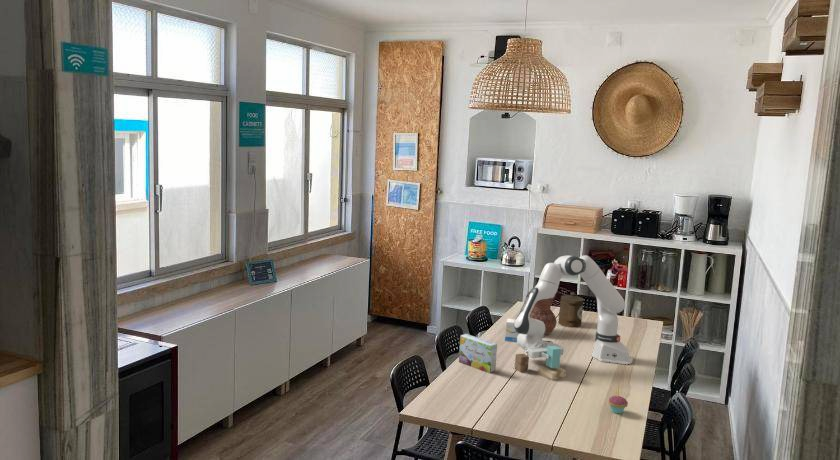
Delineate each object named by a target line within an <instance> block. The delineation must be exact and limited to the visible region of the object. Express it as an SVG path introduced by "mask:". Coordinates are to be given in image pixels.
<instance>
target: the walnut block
mask: <svg viewBox="0 0 840 460" xmlns="http://www.w3.org/2000/svg"><path fill="white" fill-rule="evenodd" d="M514 359H515V360H514V370H516V371H517V372H519V373H526V372H528V371H529V362H530V361H529V360H530V356H528V355H527V354H526V353H518V354H517V353H516V354H515V358H514Z"/></svg>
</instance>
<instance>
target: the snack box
mask: <svg viewBox="0 0 840 460" xmlns="http://www.w3.org/2000/svg"><path fill="white" fill-rule="evenodd" d="M459 339H460V340H459V351H458V352H459V355H458V362H459V363H461V364H463V365H467V366H470V367H472V368H475V369H477V370H479V371H480V370H481V371H483V372H485V373H488V374H492V373H494V372H495V371H496V368H497V367H496V365H497V355H498V354H497V353H498V343H495V342H492V341H489V340H486V339H483V338H480V337H477V336H474V335H471V334H469V333H465V334H464V333H463V334H461V335H460V337H459Z"/></svg>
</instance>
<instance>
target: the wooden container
mask: <svg viewBox="0 0 840 460" xmlns="http://www.w3.org/2000/svg"><path fill="white" fill-rule="evenodd" d="M569 294H570V295H569ZM569 294H564V295H561V297H560V305H559V311H558V324H559V325H560V326H562V327H566V328H580V327H581V326H582V318H583V306H584V298H583V297H581V296H578V295H576V293H575V292H574V291H571V292H570V293H569Z"/></svg>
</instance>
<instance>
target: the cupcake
mask: <svg viewBox="0 0 840 460" xmlns="http://www.w3.org/2000/svg"><path fill="white" fill-rule="evenodd" d="M616 391H617V393H616V395H612V396H611V397H609V399H608V405H609V406H610V410H611V412H612V413H613V412H615V413H614V414H617V413H621V412H622V413H623V412H624V410H625V408H627V407H628V405H629V402H628V400H627V399H626V398H624V397H623V396H620V395H619V394H620V393H619V392H620V387H619V386H617V389H616ZM622 413H621V414H622Z"/></svg>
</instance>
